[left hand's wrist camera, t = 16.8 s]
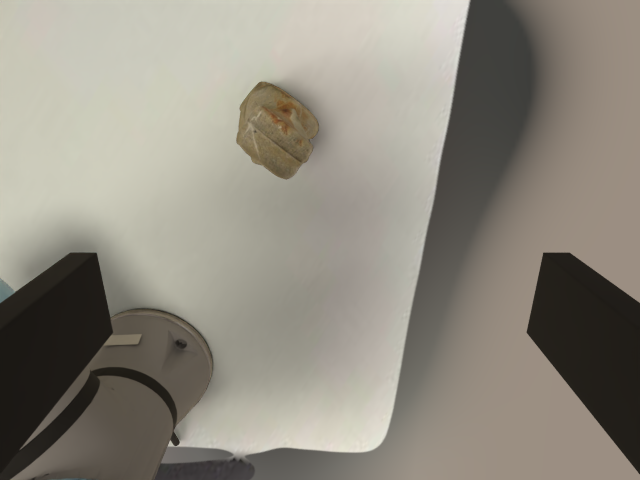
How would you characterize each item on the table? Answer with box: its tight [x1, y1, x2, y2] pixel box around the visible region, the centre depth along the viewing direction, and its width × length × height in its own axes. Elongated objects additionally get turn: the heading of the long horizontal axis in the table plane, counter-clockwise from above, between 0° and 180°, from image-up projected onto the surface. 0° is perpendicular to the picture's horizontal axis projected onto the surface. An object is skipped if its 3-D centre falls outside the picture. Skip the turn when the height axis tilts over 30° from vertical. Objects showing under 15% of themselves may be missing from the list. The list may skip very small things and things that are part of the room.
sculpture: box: [236, 82, 319, 179], centre depth 36 cm, size 6×7×15 cm
